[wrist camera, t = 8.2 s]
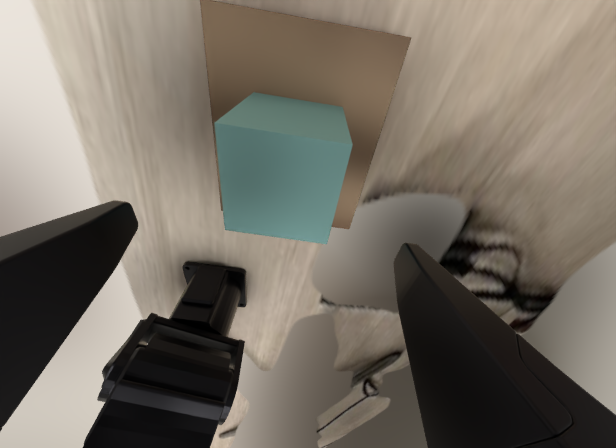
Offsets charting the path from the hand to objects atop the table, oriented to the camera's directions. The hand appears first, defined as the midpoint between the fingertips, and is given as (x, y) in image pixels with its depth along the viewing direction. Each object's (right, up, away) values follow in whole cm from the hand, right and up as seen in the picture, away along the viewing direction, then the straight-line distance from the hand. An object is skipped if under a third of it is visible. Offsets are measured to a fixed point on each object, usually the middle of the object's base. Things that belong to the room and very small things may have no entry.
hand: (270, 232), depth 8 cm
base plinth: (0, +6, +8) cm, 11 cm away
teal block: (0, +5, +7) cm, 9 cm away
